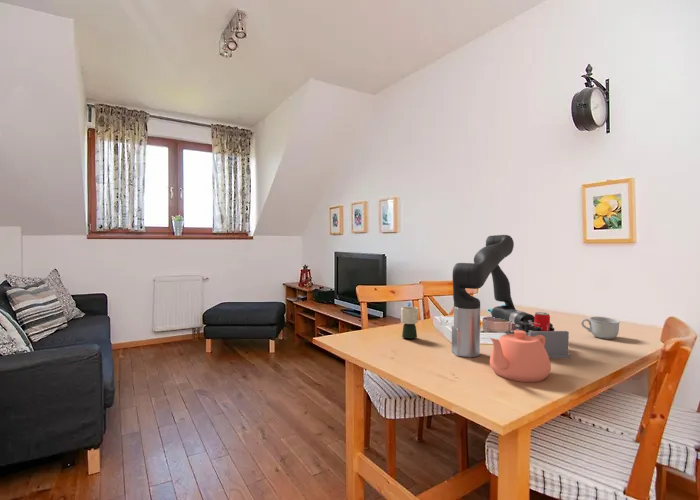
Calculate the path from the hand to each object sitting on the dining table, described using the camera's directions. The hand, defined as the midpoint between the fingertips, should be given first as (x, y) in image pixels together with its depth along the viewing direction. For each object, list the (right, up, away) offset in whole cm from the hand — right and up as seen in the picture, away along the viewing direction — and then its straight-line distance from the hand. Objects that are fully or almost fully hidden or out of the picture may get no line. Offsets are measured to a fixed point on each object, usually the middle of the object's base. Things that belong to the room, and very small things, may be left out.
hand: (546, 330), depth 139 cm
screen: (-2, -8, -4) cm, 9 cm away
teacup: (+36, -8, +24) cm, 44 cm away
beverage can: (0, -6, +3) cm, 7 cm away
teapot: (-20, -9, -22) cm, 31 cm away
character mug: (-47, -8, +21) cm, 52 cm away
